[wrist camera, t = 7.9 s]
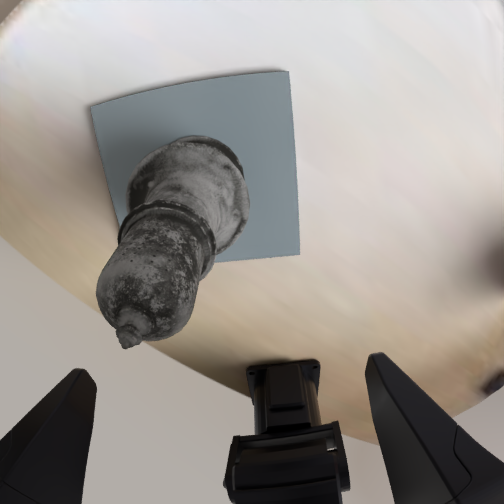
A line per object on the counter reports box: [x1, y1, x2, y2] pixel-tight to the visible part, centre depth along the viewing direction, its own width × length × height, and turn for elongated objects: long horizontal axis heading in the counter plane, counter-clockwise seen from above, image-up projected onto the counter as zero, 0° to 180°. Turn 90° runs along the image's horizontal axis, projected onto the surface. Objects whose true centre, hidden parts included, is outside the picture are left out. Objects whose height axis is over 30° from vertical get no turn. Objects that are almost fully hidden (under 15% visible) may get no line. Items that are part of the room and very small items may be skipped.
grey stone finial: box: [96, 135, 250, 349], centre depth 12 cm, size 6×6×12 cm
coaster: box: [90, 71, 300, 263], centre depth 17 cm, size 11×11×1 cm
